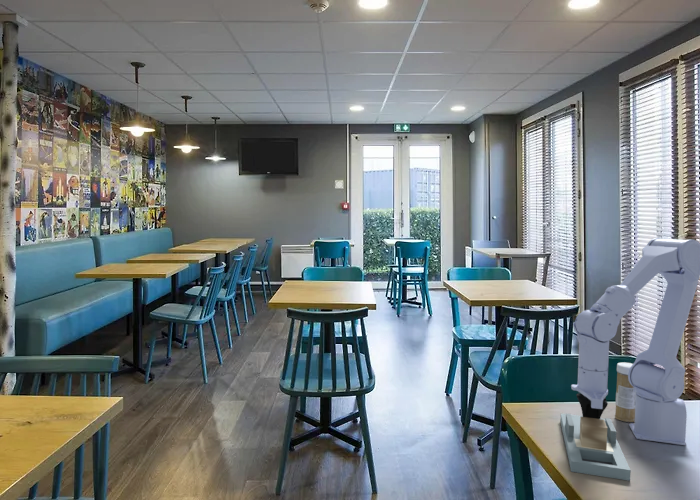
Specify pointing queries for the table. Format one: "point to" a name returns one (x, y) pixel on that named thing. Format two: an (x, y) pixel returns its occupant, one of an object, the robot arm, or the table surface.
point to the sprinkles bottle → (624, 394)
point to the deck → (594, 451)
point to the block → (593, 433)
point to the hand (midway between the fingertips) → (590, 429)
